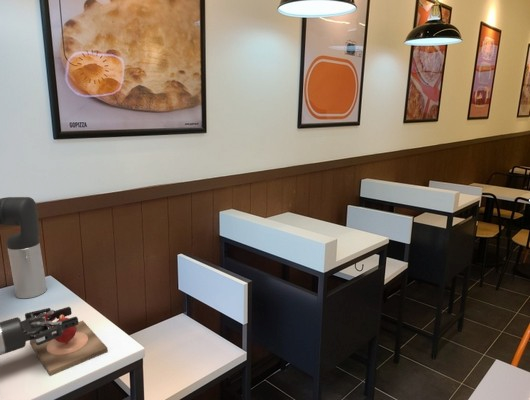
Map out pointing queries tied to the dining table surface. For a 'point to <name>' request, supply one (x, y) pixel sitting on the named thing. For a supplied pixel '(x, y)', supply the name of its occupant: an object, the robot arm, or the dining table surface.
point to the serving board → (69, 350)
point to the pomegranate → (66, 332)
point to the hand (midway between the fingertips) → (74, 315)
